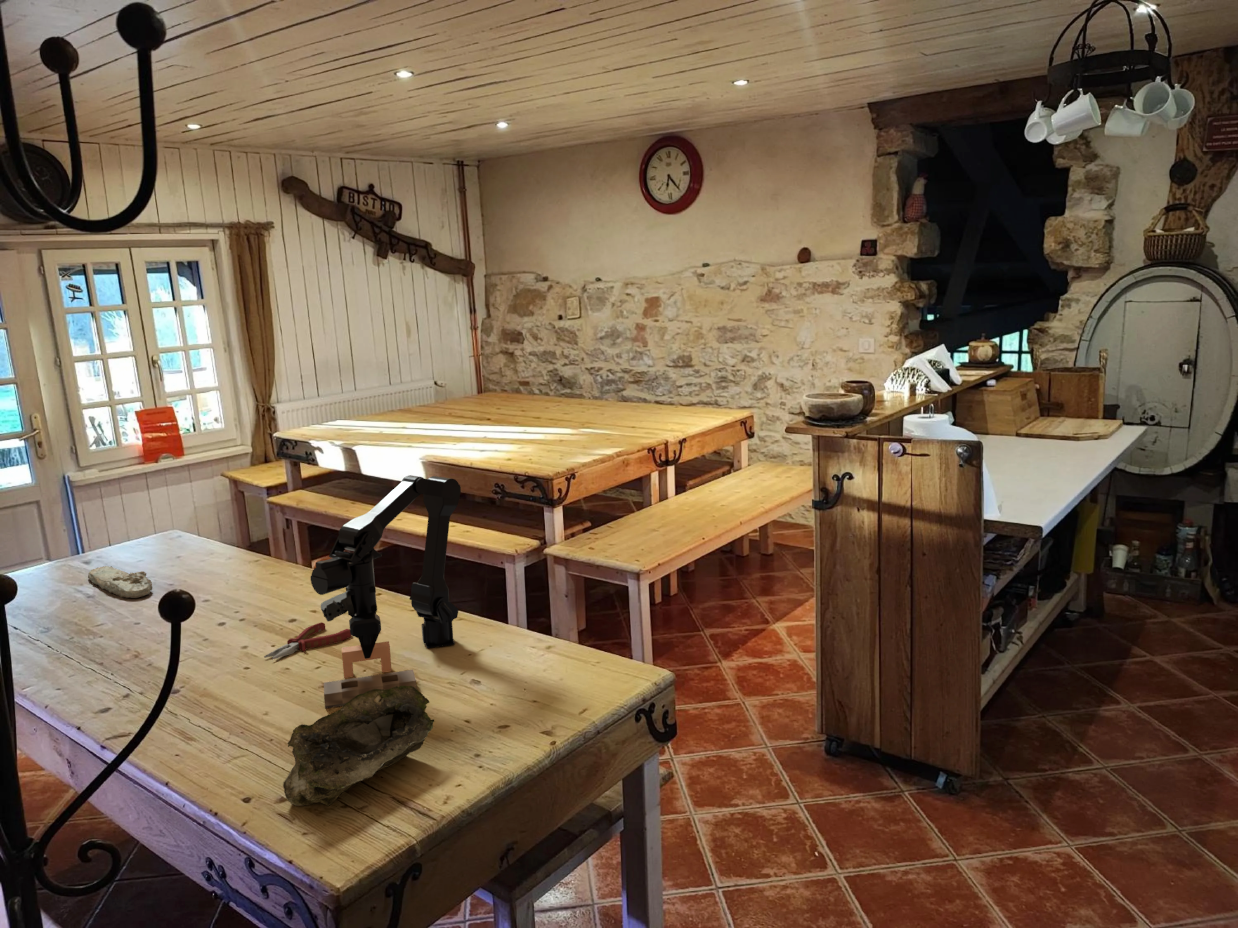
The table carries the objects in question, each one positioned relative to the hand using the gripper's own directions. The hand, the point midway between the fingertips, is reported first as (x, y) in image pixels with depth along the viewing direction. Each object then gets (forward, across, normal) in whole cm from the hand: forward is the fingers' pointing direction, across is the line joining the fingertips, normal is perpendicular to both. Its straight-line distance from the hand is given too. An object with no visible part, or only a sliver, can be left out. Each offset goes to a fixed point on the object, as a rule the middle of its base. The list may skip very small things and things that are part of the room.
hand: (366, 650), depth 195 cm
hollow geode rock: (+5, +45, -3) cm, 46 cm away
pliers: (+6, -24, -13) cm, 28 cm away
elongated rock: (+6, -91, -65) cm, 112 cm away
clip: (+5, 0, 0) cm, 5 cm away
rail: (+5, +12, 0) cm, 13 cm away
